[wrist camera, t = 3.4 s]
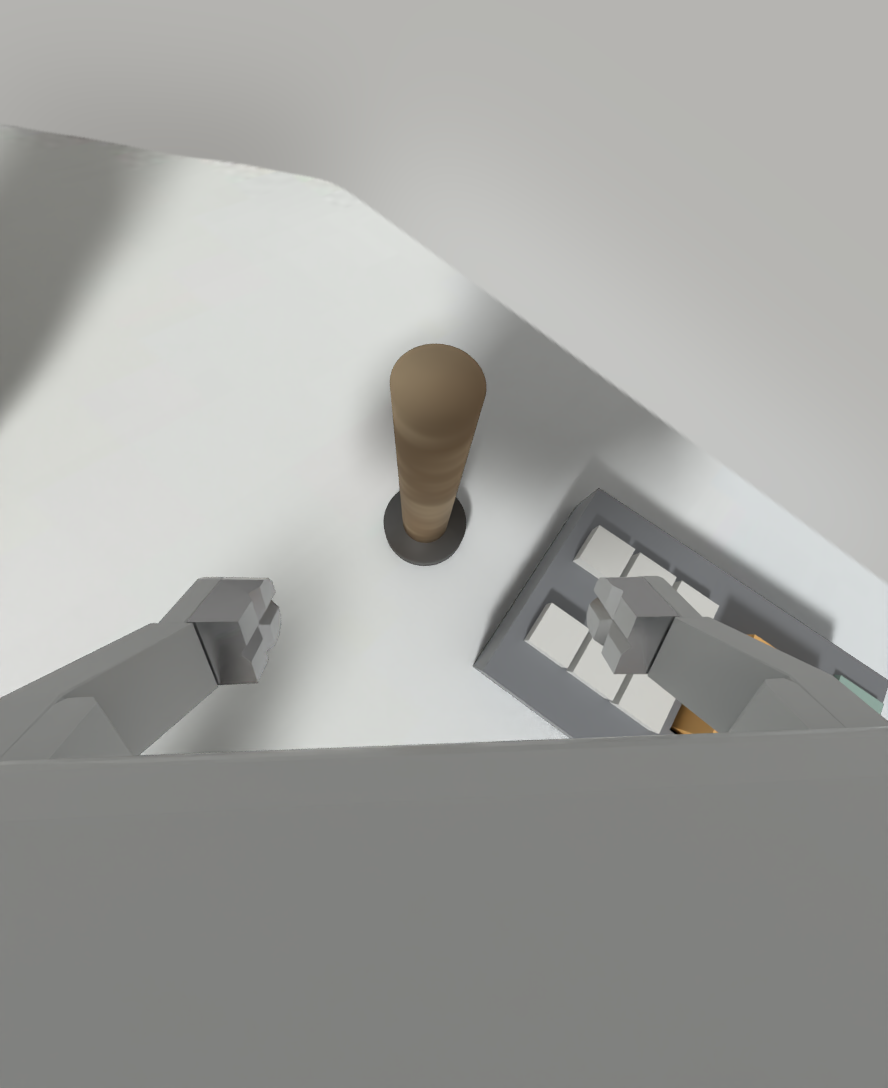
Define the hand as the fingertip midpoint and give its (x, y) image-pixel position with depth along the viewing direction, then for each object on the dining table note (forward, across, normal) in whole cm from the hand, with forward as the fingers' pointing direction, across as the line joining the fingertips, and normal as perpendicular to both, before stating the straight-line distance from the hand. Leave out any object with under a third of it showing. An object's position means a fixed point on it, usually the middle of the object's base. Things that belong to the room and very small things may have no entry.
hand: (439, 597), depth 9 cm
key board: (+6, -13, +11) cm, 18 cm away
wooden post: (+12, 0, +4) cm, 13 cm away
